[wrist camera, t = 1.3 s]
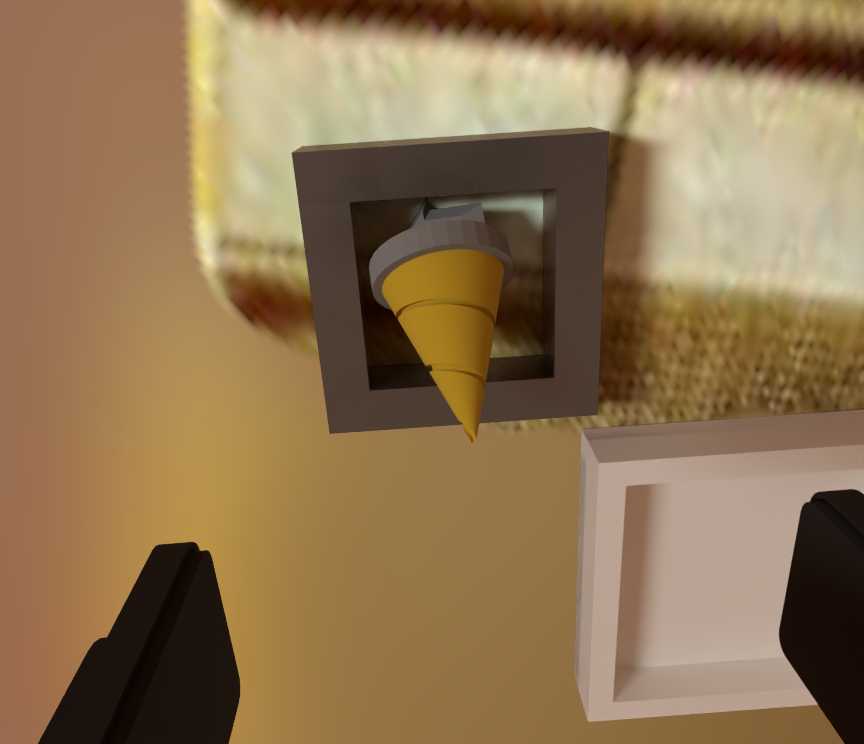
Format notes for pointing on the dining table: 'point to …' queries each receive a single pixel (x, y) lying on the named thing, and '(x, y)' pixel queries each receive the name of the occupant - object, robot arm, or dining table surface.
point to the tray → (697, 558)
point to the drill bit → (447, 297)
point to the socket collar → (441, 176)
